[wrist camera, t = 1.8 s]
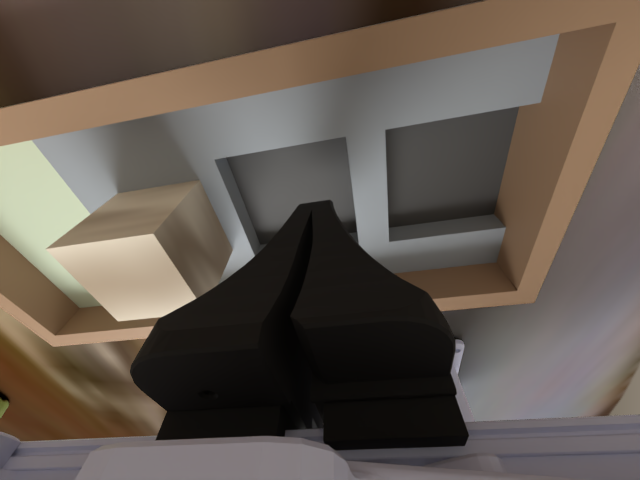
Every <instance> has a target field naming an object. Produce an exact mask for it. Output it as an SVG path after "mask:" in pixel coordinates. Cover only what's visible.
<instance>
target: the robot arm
mask: <svg viewBox="0 0 640 480" xmlns="http://www.w3.org/2000/svg"><path fill="white" fill-rule="evenodd" d="M464 347H465V345H464V343H463V341H462V340H459V339H456V340H455V338H454V336H453V333H452V331H451V329H450V327H449V325H448V323H447V321H446V320H445V318H444V316H443V314H442V313H441V311H440V310H439V308H438V306H437V305H436V303H435V302H434V301H433V299H432V298H431V296H430V295H429V294H428V293H427V292H426V291H424V290H422V289H420V288H419V287H417V286H415V285H413V284H411V283H409V282H407V281H405V280H403V279H401V278H400V277H398V276H397V275H395V274H394V273H392V272H391V271H389V270H388V269H387V268H385V267H384V266H383V265H381V264H380V263H379V262H377V261H376V260H375V259H374V258H372V257H371V256H370V255H369V254H368V253H367V252H366V251H365V250H364V249H363V248H362V247H361V246H360V245H359V244H358V243H357V242H356V241H355V240H354V239H353V237H352V236H351V235H350V234H349V232H348V231H347V230H346V228H345V227H344V225H343V224H342V222H341V221H340V219H339V217H338V216H337V213H336V211H335V209H334V205H333V202H332V201H331V200H324V201H317V202H310V203H303V204H299V205H298V206H297V208H296V209H295V210H294V212H293V213H292V214H291V216H290V217H289V218H288V220H287V221H286V222H285V224H284V225H283V226H282V227H281V229H280V230H279V231H278V232H277V234H276V235H275V236H274V237H273V238H272V239H271V240H270V241H269V242H268V244H267V245H266V246H265V247H264V248H263V249H262V250H261V251H260V252H259V253H258V254H257V255H256V256H254V257H253V258H252V259H251V260H250V261H249V262H248V263H247V264H245V265H244V266H243V267H242V268H240V269H239V270H238V271H236V272H235V273H234V274H232V275H231V276H230V277H228V278H227V279H226V280H224V281H223V282H221V283H220V284H218V285H217V286H215V287H214V288H212V289H211V290H209V291H208V292H206V293H204V294H203V295H201V296H200V297H198V298H196V299H195V300H193V301H191V302H189V303H187V304H185V305H184V306H182V307H180V308H178V309H176V310H174V311H172V312H171V313H169V314H167V315H165V316H163V317H161V318H159V319H158V320H157V322H156V324H155V325H154V327H153V329H152V330H151V332H150V334H149V336H148V337H147V339H146V341H145V342H144V344H143V346H142V348H141V349H140V351H139V353H138V354H137V356H136V358H135V360H134V361H133V363H132V365H131V369H130V374H131V376H132V378H133V381H134V383H135V384H136V385H137V386H138V387H139V388H140V389H141V390H142V391H143V392H144V393H145V394H147V395H148V396H149V397H150V398H152V399H153V400H154V401H155V402H156V403H158V404H159V405H160V406H161V407H163V408H164V409H165V410H166V411H167V413H166V416H165V418H164V421H163V423H162V425H161V428H160V430H159V433H158V435H157V436H139V437H116V438H94V439H71V440H48V441H26V442H20V440H19V439H18V438H16V437H14V436H11V435H9V434H6V433H3V432H0V480H640V415H619V416H594V417H571V418H548V419H525V420H503V421H480V422H475V420H474V417H473V414H472V412H471V409H470V407H469V404H468V401H467V399H466V396H465V393H464V391H463V388H462V385H461V383H460V380H459V378H458V372H459V367H460V363H461V359H462V355H463V351H464Z"/></svg>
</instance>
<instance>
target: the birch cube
mask: <svg viewBox="0 0 640 480" xmlns="http://www.w3.org/2000/svg"><path fill="white" fill-rule="evenodd" d="M46 250H47V251H48V252H49V253H50V254H51V255H52V256H53V257H54V258H55V259H56V260H57V261H58V262H59V263H60V264H61V265H62V266H63V267H64V268H65V269H66V270H67V271H68V272H69V273H70V274H71V275H72V276H73V277H74V278H75V279H76V280H77V281H78V282H79V283H80V284H81V285H82V286H83V287H84V288H85V289H86V290H87V291H88V292H89V293H90V294H91V295H92V296H93V297H94V298H95V299H96V300H97V301H98V302H99V303H100V304H101V305H102V306H103V307H104V308H105V309H106V310H107V311H108V312H109V313H110V314H111V315H112V316H113V317H114V318H115V319H116V320H117V321H127V320H137V319H147V318H157V317H163V316H165V315H167V314H169V313H171V312H172V311H174V310H176V309H178V308H180V307H182V306H184V305H185V304H187V303H189V302H191V301H193V300H195V299H196V298H198V297H200V296H201V295H203V294H204V293H206V292H208V291H209V290H211V289H212V288H214V287H215V286H217V285H218V284H219V281H220V279H221V277H222V274H223V272H224V270H225V268H226V265H227V263H228V261H229V258H230V256H231V254H232V251H233V249H232V247H231V245H230V243H229V240H228V238H227V236H226V234H225V232H224V230H223V228H222V226H221V224H220V222H219V219H218V217H217V215H216V213H215V211H214V209H213V207H212V205H211V203H210V201H209V198H208V196H207V194H206V192H205V190H204V188H203V186H202V184H201V182H200V180H196V181H190V182H184V183H178V184H172V185H166V186H160V187H154V188H148V189H142V190H135V191H129V192H123V193H118V194H116V195H115V196H114V197H112V198H111V199H110V200H109V201H107V202H106V203H105V204H103V205H102V206H101V207H99V208H98V209H97V210H96V211H94V212H93V213H92V214H90V215H89V216H88V217H86V218H85V219H84V220H83V221H81V222H80V223H79V224H77V225H76V226H75V227H73V228H72V229H71V230H70V231H68V232H67V233H66V234H64V235H63V236H62V237H60V238H59V239H58V240H57V241H55V242H54V243H53V244H51V245H50V246H49V247H47V248H46Z"/></svg>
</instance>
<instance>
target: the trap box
mask: <svg viewBox="0 0 640 480" xmlns="http://www.w3.org/2000/svg"><path fill="white" fill-rule="evenodd" d="M639 64H640V0H483V1H478V2H474V3H469V4H465V5H460V6H456V7H451V8H447V9H442V10H438V11H433V12H429V13H424V14H420V15H415V16H411V17H406V18H402V19H397V20H393V21H388V22H384V23H379V24H375V25H370V26H366V27H361V28H357V29H352V30H348V31H343V32H339V33H334V34H330V35H325V36H321V37H316V38H312V39H307V40H303V41H298V42H294V43H289V44H285V45H280V46H276V47H271V48H267V49H262V50H258V51H253V52H249V53H244V54H240V55H235V56H231V57H226V58H222V59H217V60H213V61H208V62H204V63H199V64H195V65H190V66H186V67H181V68H177V69H172V70H168V71H163V72H159V73H154V74H150V75H145V76H141V77H136V78H132V79H127V80H123V81H118V82H114V83H109V84H105V85H100V86H96V87H91V88H87V89H82V90H78V91H73V92H69V93H64V94H60V95H55V96H51V97H46V98H42V99H37V100H33V101H28V102H24V103H19V104H15V105H10V106H6V107H1V108H0V308H2V309H3V310H4V311H6V312H7V313H8V314H10V315H11V316H12V317H14V318H15V319H17V320H18V321H19V322H21V323H22V324H23V325H25V326H26V327H27V328H29V329H30V330H31V331H33V332H34V333H35V334H37V335H38V336H40V337H41V338H42V339H44V340H45V341H46V342H48V343H49V344H50V345H52V346H53V347H55V346H66V345H77V344H88V343H99V342H110V341H121V340H132V339H143V338H147V337H148V336H149V334H150V332H151V330H152V329H153V327H154V325H155V324H156V322H157V320H158V319H159V318H161V317H157V318H147V319H137V320H127V321H117V320H116V319H115V318H114V317H113V316H112V315H111V314H110V313H109V312H108V311H107V310H106V309H105V308H104V307H103V306H102V305H101V304H100V303H99V302H98V301H97V300H96V299H95V298H94V297H93V296H92V295H91V294H90V293H89V292H88V291H87V290H86V289H85V288H84V287H83V286H82V285H81V284H80V283H79V282H78V281H77V280H76V279H75V278H74V277H73V276H72V275H71V274H70V273H69V272H68V271H67V270H66V269H65V268H64V267H63V266H62V265H61V264H60V263H59V262H58V261H57V260H56V259H55V258H54V257H53V256H52V255H51V254H50V253H49V252H48V251H47V250H46V248H47V247H49V246H50V245H51V244H53V243H54V242H55V241H57V240H58V239H59V238H60V237H62V236H63V235H64V234H66V233H67V232H68V231H70V230H71V229H72V228H73V227H75V226H76V225H77V224H79V223H80V222H81V221H83V220H84V219H85V218H86V217H88V216H89V215H90V214H92V213H93V212H94V211H96V210H97V209H98V208H99V207H101V206H102V205H103V204H105V203H106V202H107V201H109V200H110V199H111V198H112V197H114V196H115V195H116V194H118V193H123V192H129V191H135V190H142V189H148V188H154V187H160V186H166V185H172V184H178V183H184V182H190V181H196V180H200V182H201V184H202V186H203V188H204V190H205V192H206V194H207V196H208V198H209V201H210V203H211V205H212V207H213V209H214V211H215V213H216V215H217V217H218V219H219V222H220V224H221V226H222V228H223V230H224V232H225V234H226V236H227V238H228V240H229V243H230V245H231V247H232V249H233V251H232V254H231V256H230V258H229V261H228V263H227V265H226V268H225V270H224V272H223V274H222V277H221V279H220V281H219V284H220V283H221V282H223V281H224V280H226V279H227V278H228V277H230V276H231V275H232V274H234V273H235V272H236V271H238V270H239V269H240V268H242V267H243V266H244V265H245V264H247V263H248V262H249V261H250V260H251V259H252V258H253V257H254V256H256V255H257V254H258V253H259V252H260V251H261V250H262V249H263V248H264V247H265V246H266V245H267V244H268V242H269V241H270V240H271V239H272V238H273V237H274V236H275V235H276V234H277V232H278V231H279V230H280V229H281V227H282V226H283V225H284V224H285V222H286V221H287V220H288V218H289V217H290V216H291V214H292V213H293V212H294V210H295V209H296V208H297V206H298V205H299V204H303V203H310V202H317V201H324V200H331V201H332V202H333V205H334V209H335V211H336V213H337V216H338V217H339V219H340V221H341V222H342V224H343V225H344V227H345V228H346V230H347V231H348V232H349V234H350V235H351V236H352V237H353V239H354V240H355V241H356V242H357V243H358V244H359V245H360V246H361V247H362V248H363V249H364V250H365V251H366V252H367V253H368V254H369V255H370V256H371V257H372V258H374V259H375V260H376V261H377V262H379V263H380V264H381V265H383V266H384V267H385V268H387V269H388V270H389V271H391V272H392V273H394V274H395V275H397V276H398V277H400V278H401V279H403V280H405V281H407V282H409V283H411V284H413V285H415V286H417V287H419V288H420V289H422V290H424V291H426V292H427V293H428V294H429V295H430V296H431V298H432V299H433V301H434V302H435V303H436V305H437V306H438V308H439V310H440V311H449V310H460V309H471V308H482V307H493V306H504V305H515V304H526V303H534V302H535V300H536V298H537V296H538V293H539V291H540V289H541V287H542V284H543V282H544V280H545V277H546V275H547V273H548V271H549V268H550V266H551V264H552V262H553V259H554V257H555V255H556V252H557V250H558V248H559V246H560V243H561V241H562V239H563V237H564V234H565V232H566V230H567V227H568V225H569V223H570V221H571V218H572V216H573V214H574V212H575V209H576V207H577V205H578V203H579V200H580V198H581V196H582V193H583V191H584V189H585V187H586V184H587V182H588V180H589V178H590V175H591V173H592V171H593V168H594V166H595V164H596V162H597V159H598V157H599V155H600V153H601V150H602V148H603V146H604V143H605V141H606V139H607V137H608V134H609V132H610V130H611V128H612V125H613V123H614V121H615V118H616V116H617V114H618V112H619V109H620V107H621V105H622V103H623V100H624V98H625V96H626V93H627V91H628V89H629V87H630V84H631V82H632V80H633V78H634V75H635V73H636V71H637V68H638V66H639Z"/></svg>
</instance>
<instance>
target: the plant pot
mask: <svg viewBox="0 0 640 480" xmlns="http://www.w3.org/2000/svg"><path fill="white" fill-rule="evenodd" d="M8 406H9V402H8V401H7V400H2V399H1V398H0V418H1V417H2V415H3V414H4V412H5V411H6V409H7V408H8Z"/></svg>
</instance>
